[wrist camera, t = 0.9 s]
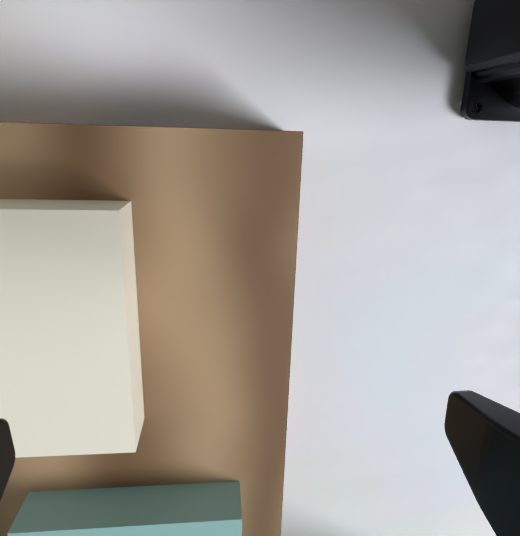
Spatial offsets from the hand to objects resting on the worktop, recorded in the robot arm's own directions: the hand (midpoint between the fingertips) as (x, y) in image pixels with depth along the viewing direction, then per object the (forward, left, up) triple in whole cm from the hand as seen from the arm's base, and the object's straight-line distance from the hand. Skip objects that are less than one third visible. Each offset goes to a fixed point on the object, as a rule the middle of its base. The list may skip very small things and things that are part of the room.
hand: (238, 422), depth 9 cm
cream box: (+6, +1, -8) cm, 10 cm away
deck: (+4, +5, -12) cm, 14 cm away
